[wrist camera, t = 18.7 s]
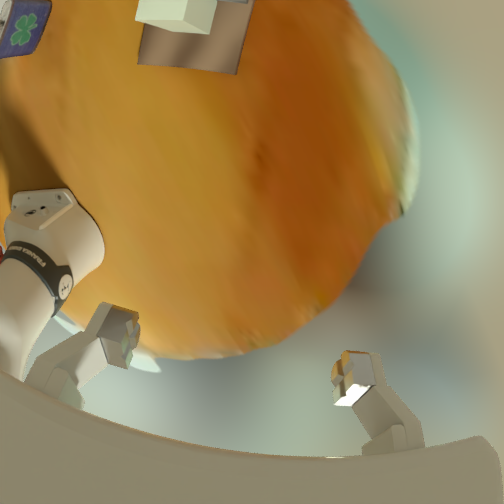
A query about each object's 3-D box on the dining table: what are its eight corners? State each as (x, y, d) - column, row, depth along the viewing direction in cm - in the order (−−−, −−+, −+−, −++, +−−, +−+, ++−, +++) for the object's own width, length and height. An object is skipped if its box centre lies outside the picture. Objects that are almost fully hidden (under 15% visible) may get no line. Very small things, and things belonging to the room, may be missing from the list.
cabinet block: (172, 31, 25) (134, 20, 17) (180, -1, 23) (145, -23, 15) (209, 34, 26) (182, 20, 17) (217, 1, 23) (194, -24, 15)
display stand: (142, 64, 29) (119, 64, 24) (159, -13, 23) (139, -25, 18) (236, 74, 30) (228, 74, 25) (256, -7, 24) (252, -21, 19)
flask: (45, 0, 21) (-4, -2, 12) (57, 2, 22) (7, -2, 13) (24, 53, 26) (-25, 62, 17) (35, 56, 27) (-16, 65, 18)
